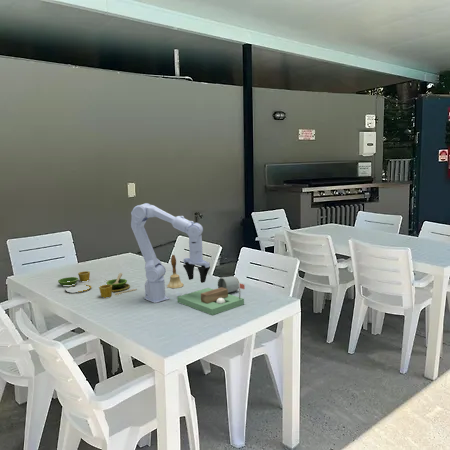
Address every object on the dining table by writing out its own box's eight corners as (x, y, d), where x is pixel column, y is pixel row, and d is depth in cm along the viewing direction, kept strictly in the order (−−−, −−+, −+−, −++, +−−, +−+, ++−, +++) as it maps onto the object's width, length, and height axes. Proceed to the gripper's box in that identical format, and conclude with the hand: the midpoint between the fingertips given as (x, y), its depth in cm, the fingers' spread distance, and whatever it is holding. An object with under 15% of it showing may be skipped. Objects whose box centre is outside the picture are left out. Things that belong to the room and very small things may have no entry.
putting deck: (177, 302, 197) (176, 281, 195) (208, 292, 208) (207, 273, 207) (215, 316, 178) (214, 293, 176) (247, 305, 189) (246, 284, 188)
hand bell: (167, 289, 216) (165, 257, 214) (166, 284, 225) (164, 253, 222) (184, 287, 218) (182, 256, 216) (182, 283, 226) (181, 252, 224)
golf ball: (215, 308, 188) (213, 299, 189) (222, 306, 191) (220, 297, 191) (221, 307, 185) (218, 298, 186) (228, 305, 188) (225, 296, 188)
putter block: (201, 301, 189) (200, 293, 188) (221, 294, 196) (221, 287, 196) (207, 303, 186) (206, 295, 185) (228, 296, 194) (227, 289, 193)
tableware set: (140, 291, 216) (139, 278, 215) (85, 305, 199) (84, 291, 198) (102, 275, 247) (101, 264, 246) (53, 286, 230) (51, 274, 229)
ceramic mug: (240, 292, 208) (240, 276, 207) (226, 295, 203) (226, 279, 202) (227, 287, 217) (226, 272, 215) (213, 290, 212) (213, 275, 211)
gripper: (177, 250, 196) (179, 280, 198) (201, 254, 186) (202, 285, 188) (189, 247, 201) (190, 276, 203) (212, 251, 191) (213, 281, 193)
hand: (197, 280), depth 196 cm, fingers open, 7 cm apart
